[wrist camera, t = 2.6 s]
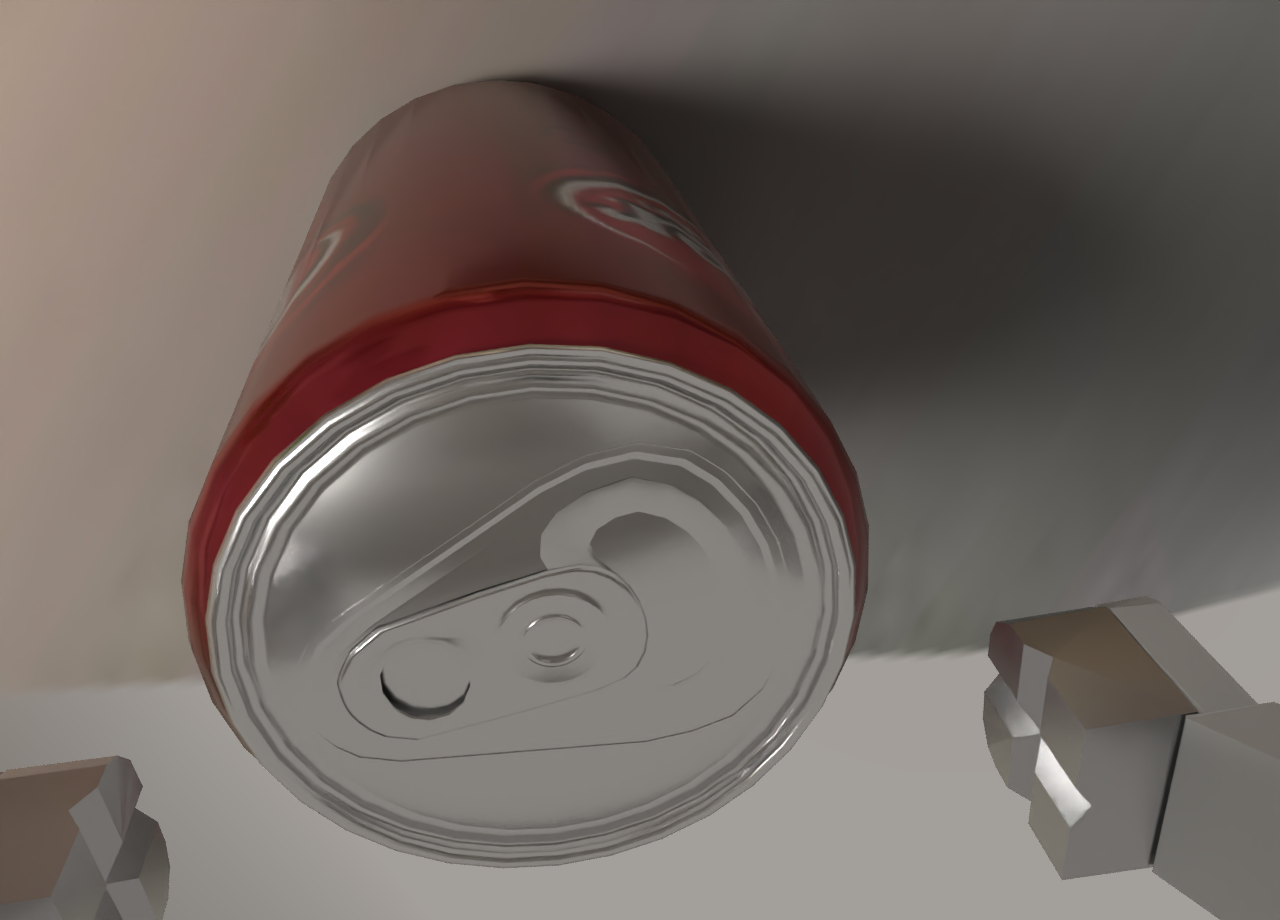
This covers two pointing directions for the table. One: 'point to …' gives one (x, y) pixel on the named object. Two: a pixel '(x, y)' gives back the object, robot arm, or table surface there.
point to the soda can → (520, 502)
